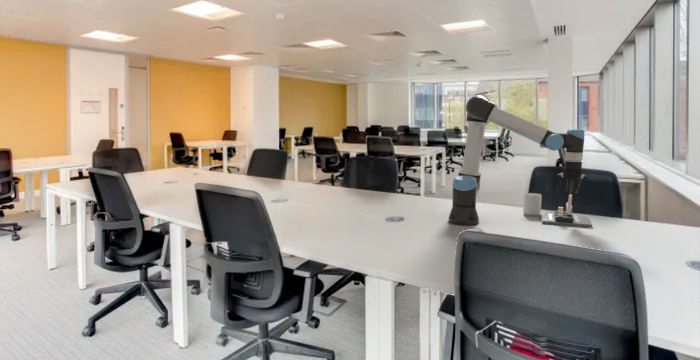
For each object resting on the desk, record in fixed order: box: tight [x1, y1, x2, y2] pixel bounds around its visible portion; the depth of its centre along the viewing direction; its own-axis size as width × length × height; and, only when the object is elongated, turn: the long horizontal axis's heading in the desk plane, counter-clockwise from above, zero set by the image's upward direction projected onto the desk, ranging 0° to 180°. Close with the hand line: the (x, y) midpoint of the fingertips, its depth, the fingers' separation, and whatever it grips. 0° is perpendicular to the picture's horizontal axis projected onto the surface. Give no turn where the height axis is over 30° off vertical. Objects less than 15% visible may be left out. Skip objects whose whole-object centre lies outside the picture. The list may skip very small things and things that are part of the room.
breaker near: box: [557, 206, 564, 217], centre depth 209 cm, size 2×3×4 cm
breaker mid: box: [567, 205, 573, 215], centre depth 213 cm, size 2×3×4 cm
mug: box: [522, 192, 542, 216], centre depth 232 cm, size 12×9×11 cm
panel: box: [541, 210, 593, 229], centre depth 213 cm, size 22×18×4 cm
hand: (569, 207), depth 207 cm, fingers closed
